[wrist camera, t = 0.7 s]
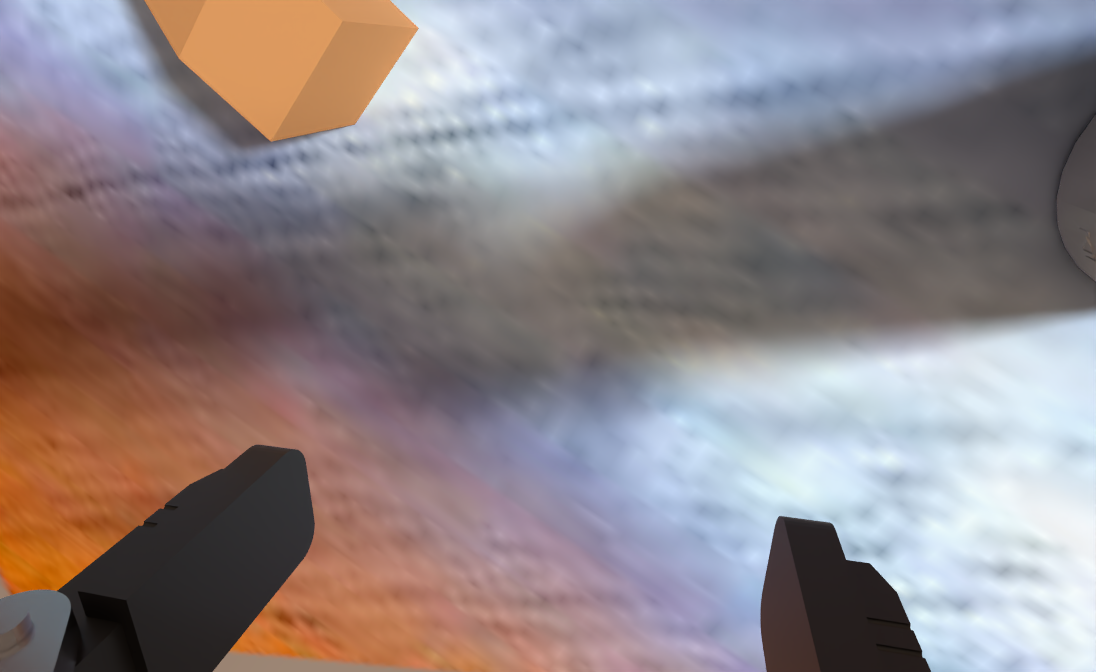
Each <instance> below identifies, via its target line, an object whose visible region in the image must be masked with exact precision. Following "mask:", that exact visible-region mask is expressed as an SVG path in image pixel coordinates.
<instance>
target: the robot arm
mask: <svg viewBox="0 0 1096 672" xmlns="http://www.w3.org/2000/svg"><path fill="white" fill-rule="evenodd" d="M1057 225H1058V228H1059V231H1060V234H1061V237H1062V241H1063V244H1064V247H1065V249H1066V250H1067V252H1068V253H1069V255H1070V256H1071V257H1072V259H1073V260H1074V262H1075V263H1076V265H1077V266H1078V267H1079V268H1080V269H1081V270H1082V271H1083V272H1084V273H1086V274H1087V275H1088V276H1089V277H1090V278H1092V279H1093V280H1094V281H1095V282H1096V115H1095V116H1094V117H1093V119H1092V120H1091V122H1090V123H1089V124H1088V126H1087V127H1086V129H1085V130H1084V132H1083V133H1082V134H1081V136H1080V137H1079V139H1078V140H1077V141H1076V143H1075V145H1074V147H1073V149H1072V152H1071V154H1070V156H1069V158H1068V160H1067V162H1066V165H1065V167H1064V169H1063V171H1062V176H1061V180H1060V185H1059V190H1058V194H1057ZM314 525H315V523H314V515H313V508H312V501H311V495H310V488H309V481H308V474H307V468H306V462H305V458H304V456H303V454H302V453H301V452H300V451H299V450H295V449H287V448H280V447H272V446H265V445H254V446H252V447H250V448H249V449H248V450H246V451H245V452H244V453H243V454H242V455H240V456H239V457H238V458H237V459H236V460H234V461H233V462H232V463H231V464H229V465H228V466H227V467H226V468H225V469H221V470H218V471H216V472H214V473H212V474H210V475H208V476H206V477H204V478H202V479H200V480H198V481H196V482H194V483H192V484H190V485H189V486H187V487H186V488H185V489H184V490H182V491H181V492H180V493H179V494H177V495H176V496H175V497H174V498H172V499H171V500H170V501H169V502H167V503H166V504H165V507H164V509H159V510H158V511H156V512H155V513H154V514H153V515H151V516H150V517H149V518H148V519H146V520H145V521H144V525H143V526H138V527H136V528H135V529H134V530H133V531H131V532H130V533H129V534H128V535H126V536H125V537H124V538H123V539H121V540H120V541H119V542H118V543H116V544H115V545H114V546H113V547H111V548H110V549H109V550H108V551H106V552H105V553H104V554H103V555H101V556H100V557H99V558H98V559H96V560H95V561H94V562H93V563H91V564H90V565H89V566H88V567H86V568H85V569H84V570H83V571H82V572H80V573H79V574H78V575H77V576H75V577H74V578H73V579H72V580H70V581H69V582H68V583H67V584H65V585H64V586H63V587H62V588H60V589H59V590H58V591H52V590H33V591H26V592H22V593H17V594H14V595H11V596H7V597H4V598H2V599H0V672H213V670H214V669H215V668H216V667H217V665H218V664H219V663H220V662H221V660H222V659H223V658H224V657H225V655H226V654H227V653H228V652H229V651H230V649H231V648H232V647H233V646H234V644H235V643H236V642H237V641H238V639H239V638H240V637H241V636H242V634H243V633H244V632H245V631H246V629H247V628H248V627H249V626H250V624H251V623H252V622H253V621H254V620H255V618H256V617H257V616H258V615H259V613H260V612H261V611H262V610H263V608H264V607H265V606H266V605H267V603H268V602H269V601H270V600H271V598H272V597H273V596H274V595H275V593H276V592H277V591H278V590H279V588H280V587H281V586H282V585H283V584H284V582H285V581H286V580H287V579H288V577H289V576H290V575H291V574H292V572H293V571H294V570H295V569H296V567H297V566H298V565H299V564H300V562H301V561H302V560H303V559H304V557H305V556H306V554H307V552H308V550H309V548H310V545H311V542H312V539H313V535H314ZM761 636H762V643H763V650H764V656H765V663H766V670H767V672H931V670H930V668H929V666H928V664H927V661H926V659H925V658H923V657H922V650H921V647H920V645H919V643H918V640H917V638H916V636H915V633H914V631H913V630H911V629H910V622H909V620H908V617H907V615H906V613H905V610H904V608H903V606H902V603H901V601H900V599H899V596H898V594H897V592H896V591H895V590H894V589H893V588H892V587H891V586H890V585H889V583H888V582H887V581H886V580H885V579H884V578H883V577H882V576H881V575H880V574H879V573H878V572H877V571H876V570H875V568H874V567H873V566H872V565H871V564H870V563H863V562H856V561H849V560H846V558H845V555H844V553H843V550H842V547H841V544H840V541H839V538H838V536H837V533H836V530H835V528H834V526H833V524H831V523H828V522H821V521H813V520H806V519H798V518H791V517H784V516H779V517H778V519H777V521H776V525H775V529H774V534H773V539H772V545H771V550H770V555H769V560H768V566H767V571H766V576H765V581H764V586H763V592H762V599H761Z"/></svg>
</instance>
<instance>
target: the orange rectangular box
mask: <svg viewBox="0 0 1096 672" xmlns="http://www.w3.org/2000/svg"><path fill="white" fill-rule="evenodd" d="M144 1H145V2H146V4H147V6H148V7H149V9H150V11H151V12H152V14H153V16H154V17H155V19H156V21H157V23H158V24H159V26H160V28H161V29H162V31H163V33H164V34H165V36H166V38H167V39H168V41H169V43H170V44H171V46H172V48H173V49H174V51H175V53H176V55H177V56H178V58H179V59H180V60H181V61H182V62H183V63H184V64H186V65H187V66H188V67H189V68H190V69H191V70H192V71H193V72H194V73H196V74H197V75H198V76H199V77H200V78H201V79H202V80H203V81H204V82H205V83H207V84H208V85H209V86H210V87H211V88H212V89H213V90H214V91H215V92H217V93H218V94H219V95H220V96H221V97H222V98H223V99H224V100H225V101H226V102H228V103H229V104H230V105H231V106H232V107H233V108H234V109H235V110H236V111H238V112H239V113H240V114H241V115H242V116H243V117H244V118H245V119H246V120H248V121H249V122H250V123H251V124H252V125H253V126H254V127H255V128H256V129H257V130H259V131H260V132H261V133H262V134H263V135H264V136H265V137H266V138H267V139H269V140H270V141H276V140H281V139H286V138H291V137H296V136H301V135H306V134H311V133H315V132H320V131H325V130H330V129H335V128H340V127H345V126H350V125H355V123H356V122H357V120H358V119H359V117H360V116H361V114H362V113H363V111H364V110H365V108H366V107H367V105H368V104H369V102H370V101H371V99H372V98H373V96H374V95H375V93H376V92H377V90H378V89H379V87H380V86H381V84H382V83H383V81H384V80H385V78H386V77H387V75H388V74H389V72H390V71H391V69H392V68H393V66H394V65H395V63H396V62H397V60H398V59H399V57H400V56H401V54H402V53H403V51H404V50H405V48H406V47H407V45H408V44H409V42H410V41H411V39H412V38H413V36H414V35H415V33H416V32H417V30H418V29H419V28H418V27H417V26H416V25H415V24H414V23H413V22H412V21H411V20H410V19H409V18H408V17H406V16H405V15H404V14H403V13H402V12H401V11H400V10H399V9H398V8H397V7H396V6H395V5H394V4H393V3H392V2H391V1H390V0H144Z"/></svg>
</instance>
